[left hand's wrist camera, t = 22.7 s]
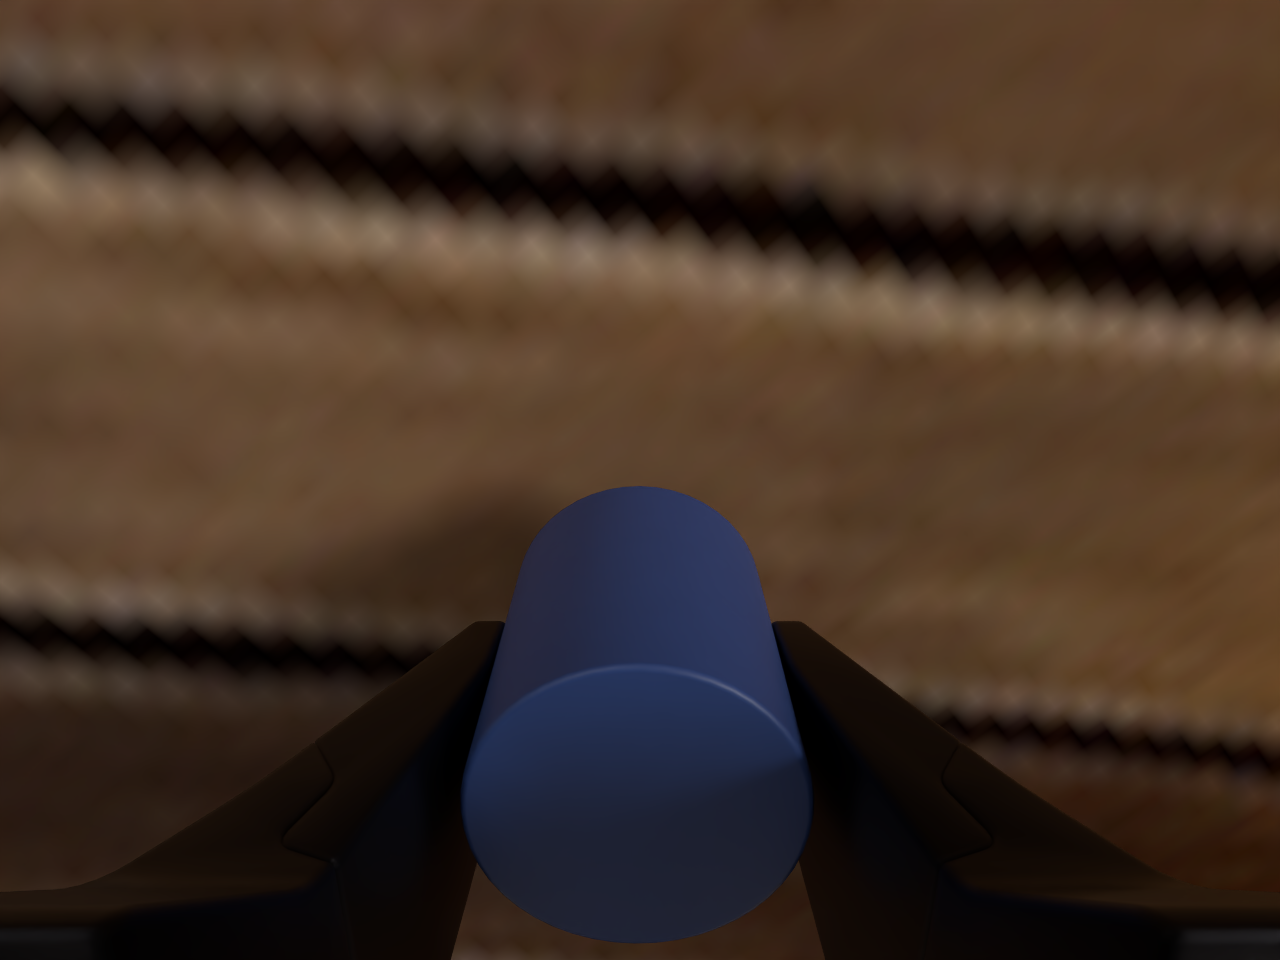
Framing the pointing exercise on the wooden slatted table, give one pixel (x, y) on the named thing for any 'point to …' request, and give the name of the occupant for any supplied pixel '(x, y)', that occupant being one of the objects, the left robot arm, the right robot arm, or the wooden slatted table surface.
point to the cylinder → (637, 728)
